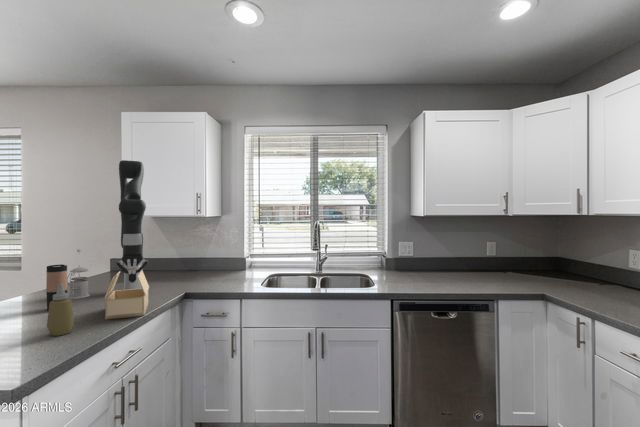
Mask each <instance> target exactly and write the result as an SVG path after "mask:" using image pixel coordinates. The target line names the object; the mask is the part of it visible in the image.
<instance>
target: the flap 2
mask: <svg viewBox="0 0 640 427" xmlns="http://www.w3.org/2000/svg"><path fill="white" fill-rule="evenodd" d="M137 278H138V280H139V282H140V285H141V287H142V290H143V292H144V294H145V295H146V294H147V291H148V292H149V289H150V285H149V283H148V281H147V278H146V276H145V273H144V270H143V271H142V270H141V272H140V273H139V274H138V276H137Z"/></svg>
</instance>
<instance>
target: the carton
mask: <svg viewBox="0 0 640 427" xmlns="http://www.w3.org/2000/svg"><path fill="white" fill-rule="evenodd" d="M104 302H105V303H104V304H105V306H104V310H105V312H104V314H105V316H104V317H105V320H114V319H124V318H136V317H142V316H145V315H146V312H147V309H148V307H149V290H148V291H147V294H146V295H145V294H144V292H143V290H142V289H129V290H124V289H120V290H118V289H117V290H113V291H112V292H111V293H110V294H109V295H108V296H107V297H106V299H105V300H104Z"/></svg>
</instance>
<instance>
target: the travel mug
mask: <svg viewBox="0 0 640 427" xmlns="http://www.w3.org/2000/svg"><path fill="white" fill-rule="evenodd" d="M67 277H68V265H67V264H66V265H65V264H52V265H47V266H46V311H47V312H49V303H50V302H51V301H53V295H55V294H56V293H57V289H58V285H59V284H63V287H64V291H65V293H68V283H67Z"/></svg>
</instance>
